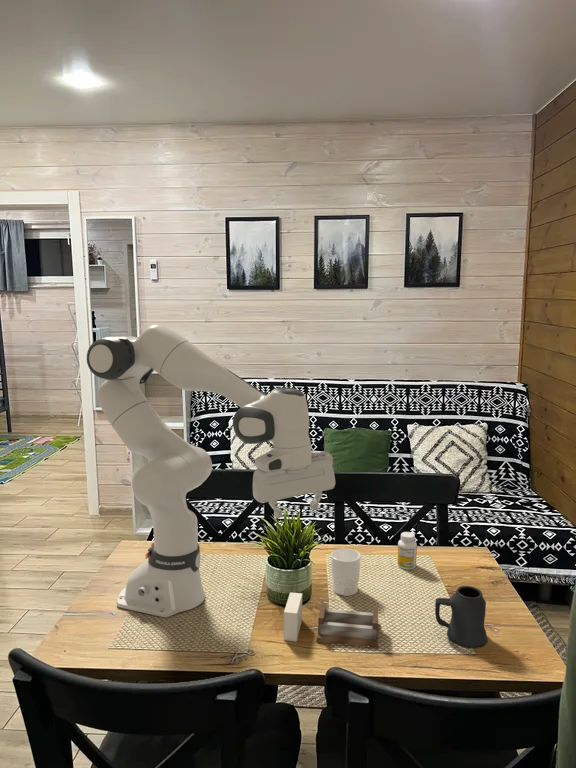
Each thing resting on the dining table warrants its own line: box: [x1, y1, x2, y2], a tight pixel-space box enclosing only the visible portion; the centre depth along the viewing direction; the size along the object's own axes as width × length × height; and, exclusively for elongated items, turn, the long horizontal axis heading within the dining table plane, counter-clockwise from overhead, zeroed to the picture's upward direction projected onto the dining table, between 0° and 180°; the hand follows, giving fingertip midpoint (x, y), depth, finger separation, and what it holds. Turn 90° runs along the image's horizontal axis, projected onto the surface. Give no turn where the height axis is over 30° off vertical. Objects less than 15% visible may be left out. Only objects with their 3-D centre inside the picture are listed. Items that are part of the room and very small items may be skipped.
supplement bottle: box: [397, 531, 418, 571], centre depth 169 cm, size 5×5×10 cm
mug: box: [434, 585, 488, 649], centre depth 134 cm, size 12×9×11 cm
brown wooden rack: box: [316, 602, 380, 648], centre depth 136 cm, size 14×10×5 cm
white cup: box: [330, 548, 362, 597], centre depth 155 cm, size 8×8×10 cm
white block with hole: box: [283, 591, 303, 642], centre depth 137 cm, size 9×4×7 cm, turn 171°
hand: (296, 513), depth 137 cm, fingers open, 8 cm apart
